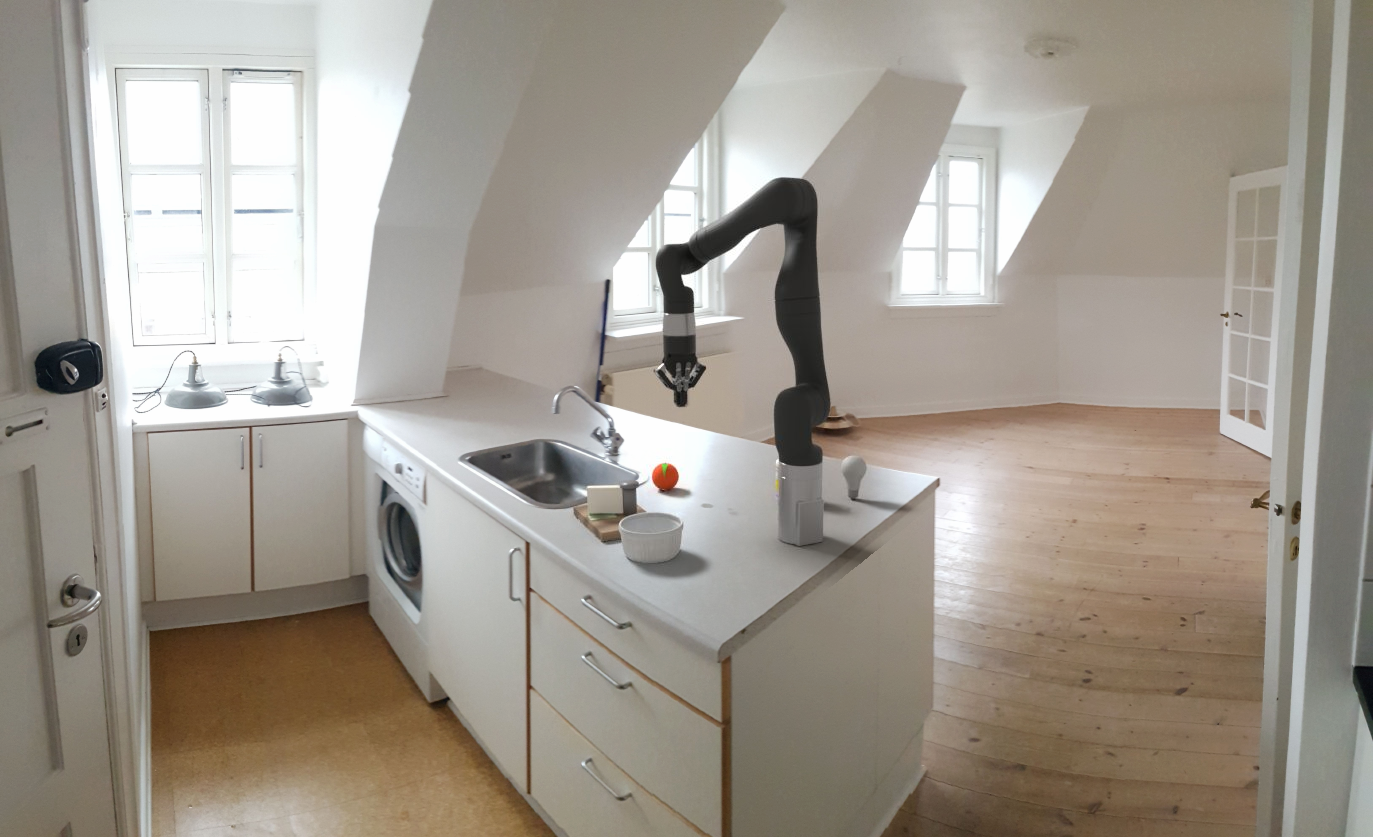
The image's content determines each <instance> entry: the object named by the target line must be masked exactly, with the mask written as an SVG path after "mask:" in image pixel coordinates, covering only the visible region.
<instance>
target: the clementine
mask: <svg viewBox="0 0 1373 837" xmlns="http://www.w3.org/2000/svg"><path fill="white" fill-rule="evenodd" d="M679 477H680V475H679V472H678V469H677V468H676V467H675V465H673V464H671V463H667V462H663V463H659V464H658V465H657V466H655V468H654V469H653V470H652V473H651V481H652V483H653V485H654V486H655V487H656V488H657V489H659V490H662V491H669V490H672V489H673V488H675V487H676V486H677V484H678V482H679V479H680V478H679Z"/></svg>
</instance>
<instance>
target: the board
mask: <svg viewBox="0 0 1373 837" xmlns="http://www.w3.org/2000/svg"><path fill="white" fill-rule="evenodd" d="M646 512H647V510H645V509H643V508H642V507H641V506H640V505H638V504H637V513H636V514H639V513H646ZM574 515H575V516H576V517H577V518H578V519H579V520H580V521H579V520H578V521H579V522H580V523H581V524H583V526H584V527H586V528H587V529H588V530H589V531H590V532H591V533H592V532H593V533H594V534H595V535H596V536H597V537H598V538H599V539H600V540H601V541H602V542H601V541H600V540H599V539H598V538H597V537H596V536H595V535H594V534H593V533H592V534H593V535H594V536H595V537H596V538H597V539H598V540H599V541H600V542H601V543H604V541H605V542H609V541H608V540H611V541H616V539H617V540H621V534H620V532H619V523H620V521H621V520H622V519H624V518H626V517H628V516H631V515H625V514H623V513H588V504H584V505H577V506H573V516H574ZM575 516H574V517H575ZM576 517H575V518H576ZM577 518H576V519H577Z"/></svg>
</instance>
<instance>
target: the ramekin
mask: <svg viewBox="0 0 1373 837" xmlns="http://www.w3.org/2000/svg"><path fill="white" fill-rule="evenodd" d="M683 530H684V521H683V519H682V518H681V517H680V516H677V515H676V514H672V513H669V512H662V511H661V512H660V511H652V512H651V511H646V513H639V514H634V515H631V516H628V517H626V518H624V519H622V520H621V521H620V523H619V532H620V534H621V539H620V541H621V546H622V550H623V552H624V555H625V556H626V557H627V558H628V559H629V560H631V561H633V562H636V561H637V562H636V563H640V562H641V564H657V563H658V562H660V563H663V562H664V561H665V562H668V561H670V560H672V559H674V558H675V557H676V556H677V555H678V554H679V552H680V549H681V546H682V545H681V544H682V538H683V536H682V535H683Z"/></svg>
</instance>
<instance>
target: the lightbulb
mask: <svg viewBox="0 0 1373 837" xmlns="http://www.w3.org/2000/svg"><path fill="white" fill-rule="evenodd" d="M840 469H841V470H840V471H841V473H842V476H843V477H844V479H845V482H846V489H847V497H848V498H850V499H851V500H856V499H857V498H858V497H859V490H860V488H861V483H862V481H863V478H864V477H865V474H866V473H867V469H868V467H867V463H866V462H865V460H864V458H863V457H861V456H859V455H849V456H847V457H845V458H844V459H843V461H842V462H841V466H840Z"/></svg>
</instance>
